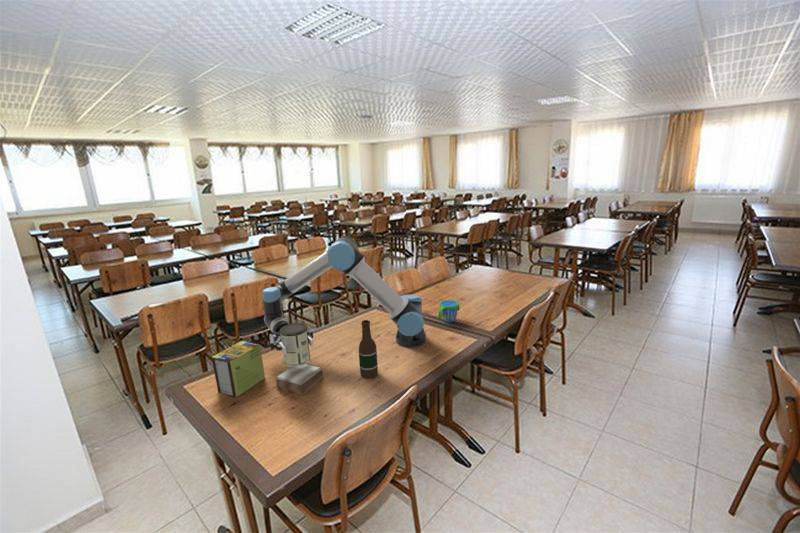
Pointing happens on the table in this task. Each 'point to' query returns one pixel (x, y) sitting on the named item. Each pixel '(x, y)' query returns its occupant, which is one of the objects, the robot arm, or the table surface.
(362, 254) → the robot arm
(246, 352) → the protein box
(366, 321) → the beer bottle
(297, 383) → the stand
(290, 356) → the coffee can
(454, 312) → the snack cup
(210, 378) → the table surface
